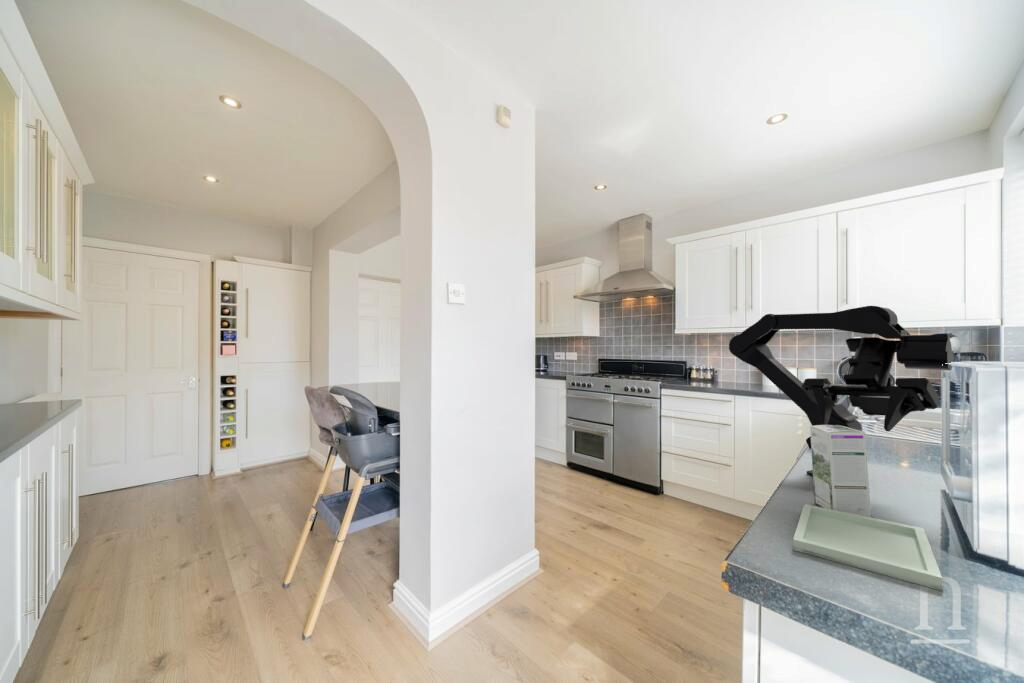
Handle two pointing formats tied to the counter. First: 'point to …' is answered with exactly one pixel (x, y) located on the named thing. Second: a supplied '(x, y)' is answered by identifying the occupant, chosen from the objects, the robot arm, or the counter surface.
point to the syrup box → (840, 469)
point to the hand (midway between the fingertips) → (853, 427)
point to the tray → (868, 544)
